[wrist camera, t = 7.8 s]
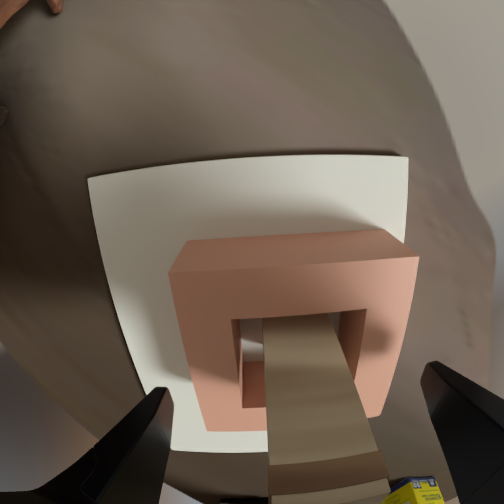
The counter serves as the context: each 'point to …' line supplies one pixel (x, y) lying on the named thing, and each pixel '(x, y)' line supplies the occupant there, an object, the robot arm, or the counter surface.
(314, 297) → the pink square ring
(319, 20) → the counter surface
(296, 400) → the dowel
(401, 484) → the supplement box
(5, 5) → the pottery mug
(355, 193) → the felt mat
